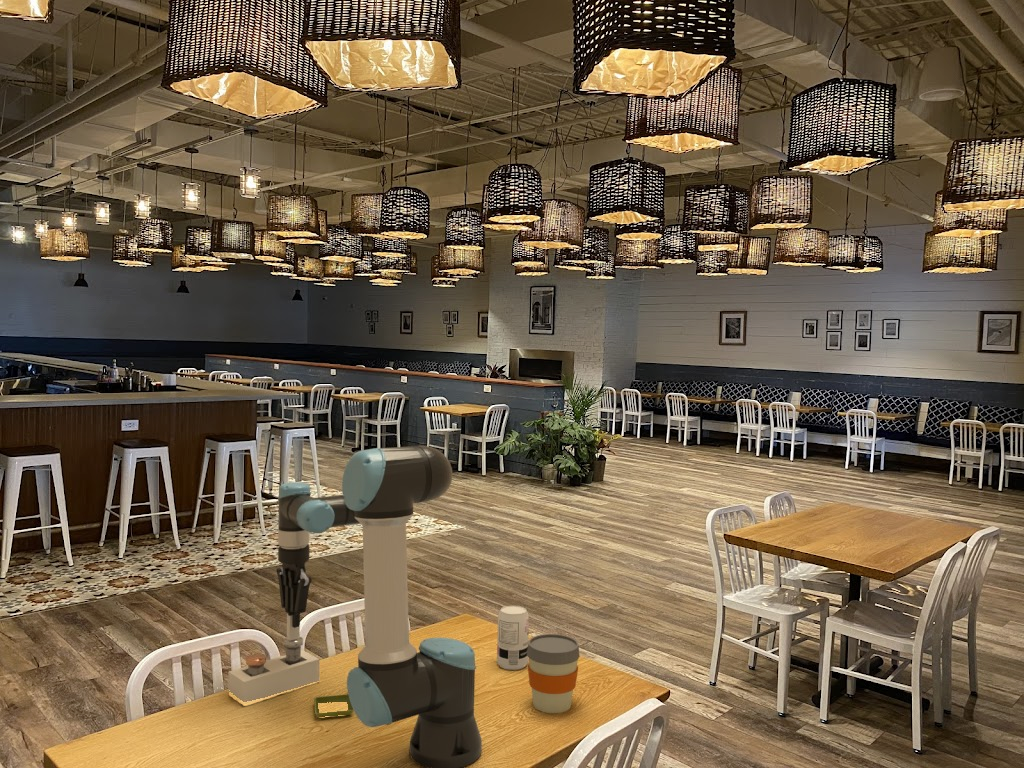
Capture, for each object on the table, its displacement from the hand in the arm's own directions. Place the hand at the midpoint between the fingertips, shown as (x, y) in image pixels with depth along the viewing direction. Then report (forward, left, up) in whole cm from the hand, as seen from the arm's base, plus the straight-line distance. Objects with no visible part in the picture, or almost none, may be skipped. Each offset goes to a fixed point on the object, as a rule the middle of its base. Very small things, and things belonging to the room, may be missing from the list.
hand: (293, 638), depth 199 cm
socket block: (-4, +2, -11) cm, 12 cm away
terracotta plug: (-9, +5, -10) cm, 14 cm away
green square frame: (-10, -17, -12) cm, 23 cm away
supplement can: (+28, -50, -12) cm, 58 cm away
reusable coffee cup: (+8, -65, -12) cm, 66 cm away
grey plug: (0, 0, -9) cm, 9 cm away
